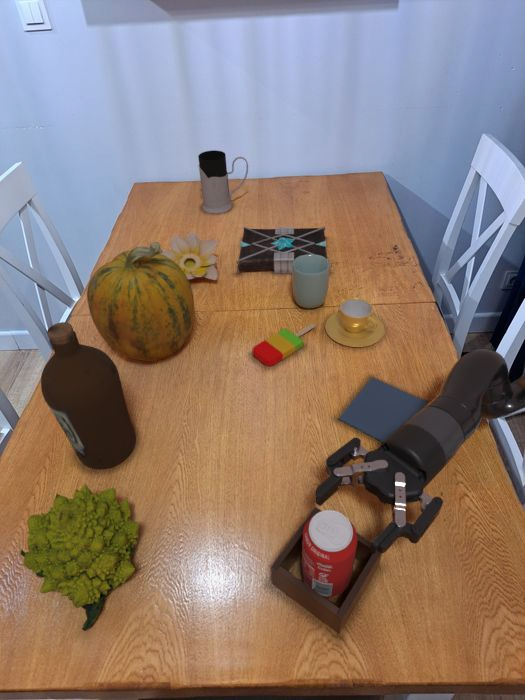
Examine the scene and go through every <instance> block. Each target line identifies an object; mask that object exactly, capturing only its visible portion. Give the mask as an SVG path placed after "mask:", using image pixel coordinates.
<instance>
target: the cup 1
mask: <svg viewBox="0 0 525 700" xmlns="http://www.w3.org/2000/svg"><path fill="white" fill-rule="evenodd" d="M327 259H328V258H327ZM327 259H326V258H325V257H323V256H320V255H315V254H307V255H302V256H299V257H297V258H296V259H295V260H294V261H293V265H292V273H291V286H292V287H291V288H292V294H293V299H294V301H295V303H296V304H297V305H298V306H299V307H301V308H303V309H312V310H313V309H317V308H319V307H321V306H322V305H323V304H324V303H325V301H326V299H327V296H328V292H329V287H330V286H329V284H330V271H331V269H330V268H331V265H330V260H329V259H328V260H329V261H328V260H327Z"/></svg>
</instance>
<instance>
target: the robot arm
mask: <svg viewBox="0 0 525 700" xmlns="http://www.w3.org/2000/svg"><path fill="white" fill-rule="evenodd" d="M428 403H429V404H427V405H426V406H425V407H424V408H423V409H422V410H421V411H419V412H418V413H416V414H415V415H413V416H412V417H411V418H410V419H408V420H407V421H405V422H404V423H403V424H402V425H401V427H400V428H399V429H398V430H397V431H395V432H394V433H393V434H392V435H391V436H390V437H389V438H388V439H387V440H386V441H385V442H384V443H382V442H381V444H380V446H378V447H377V448H375V449H374V450H370V451H369V450H368V449H367V448H366V447H364V446H363V445H362V440H361V439H360V438H359V437H353V438H352V439H350V440H349V441H347V442H346V443H345V444H343V445H342V446H341V447H340V448H338V449H337V450H336V451H334V452H333V453H332V454H330V455H329V456H327V458H326V460H325V463H326V465H325V474H326V475H328V476H327V478H325V480H323V482H321V483H320V484H319V485H318V486H317V487H316V489H315V495H314V503H315V504H316V505H317V506H318V507H321V506H322V505H324V503H326V502H327V501H328V500H329V499H330V498H331V497H332V496H333V495H334V494H336V493H337V492H338V491H339V490H340V489H339V488H340V487H345V486H350V487H354V488H356V487H357V488H358V487H364V489H365V491H367V492H368V493H369V494H372V495H373V496H375V497H376V498H377V499H378V500H379V502H381V503H382V504H383V505H389V506H391V507H390V508H391V509H390V511H391V512H390V513H391V521H390V522H389V523H388V524H387V525H386V526H385V528H384V529H383V530H382V531H381V532H380V533H379V534H378V535H377V536H376V537H375V538H374V539H373V540H372V541H371V542H372V543H371V547H370V551H371V552H372V553H373V554H376V553H377V552H378V551H379V552H380V553H381V554H384V553H386V552H387V551H388V550H389V549H390V547H391V546H392V545H394V544H395V542H396V541H397V540H398V539H399V538H405V539H407V540H408V541H409V542H410V543H411V544H417V543H419V541H421V539H422V538H423V536H424V535H425V534H426V532H427V531H428V530H429V528H430V527H431V526H432V524H433V522H434V521H435V520H436V519H437V517H438V516H439V514H440V512H441V509H442V507H443V504H444V500H443V499H442V498H441V497H440V496H434V497H432V496H430V495H429V494H428V493H426V492H425V491H424V489H425V488H426V487H427V486H428V485H429V484H430V483H431V482H432V481H433V480H434V479H435V478H436V477H437V476H438V474H439V473H441V471H442V470H443V469H445V467H447V465H448V464H449V463H450V462H451V461H452V460H453V458H454V457H455V456H456V455H457V453H458V452H459V450H460V449H461V447H462V446H463V445H464V444H465V442H467V441H468V440H469V438H470V437H471V436H472V435H473V434H474V433H475V432H476V431H477V429H478V428H479V427H480V425H481V422H482V419H483V420H496V419H500V418H504V417H507V416H510V415H512V414H514V413H516V412H518V411H520V410H523V409H525V363H524V365H523V372H522V374H521V376H520V377H518V378H517V379H515V380H513V381H511V378H510V373H509V368H508V364H507V362H506V360H505V358H504V357H503V355H501V354H500V353H499V352H498V351H495V350H493V349H488V348H480V349H475V350H472V351H469V352H468V353H465V354H464V355H463V356H462V357H460V358H458V360H457V361H456V362H455V363H454V365H453V366H452V368H451V369H450V370H449V373H448V374H447V375H446V378H445V380H444V382H443V383H442V385H441V387H440V389H439V392H438V393H437V395H436V396H434V398H433V399H432V400H430V401H429V402H428ZM359 459H362V460H363V462H360V463H353V464H351V465H350V466H345V465H347V464H348V463H349V462H351V461H357V460H359ZM416 502H419V503H420V506H419V511H420V515H419V516H418V517H417V519H416V520H415V521H414V522H413V523H410V522H409V521H407V517H406V516H407V515H406V510H407V509H406V507H407V504H411V503H416Z"/></svg>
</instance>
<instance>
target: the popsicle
mask: <svg viewBox="0 0 525 700" xmlns="http://www.w3.org/2000/svg"><path fill="white" fill-rule="evenodd" d="M316 327H317V325H316V324H315V323H311V324H309V325H308V326H306V327H304V328H303V329H300V330H299V331H298V332H295V333H294V332H292V331H290V330H289V329H288V328H283V329H281V330H279V331H278V332H276V333H274V334H273V335H271V336H269V337H267V338H266V339H264V340H262V341H261V342H259V343H258V344H255V345H254V346H253V348H252V355H253V357H254V358H255V359H256V360H258V361H260V363H262V364H263V365H264V366H266V367H272V366H275V365H277V364H278V363H279V362H281V361H283V360H284V359H285V358H287V357H289V356H291V355H292V354H293V353H295V352H297V351H298V350H300V349H302V348H303V347H304V339H302V338H301V337H302V336H303V335H305V334H307V333H308V332H309V331H311V330H313V329H314V328H316Z"/></svg>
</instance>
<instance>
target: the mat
mask: <svg viewBox="0 0 525 700" xmlns="http://www.w3.org/2000/svg"><path fill="white" fill-rule="evenodd" d="M429 403H430V402H429V401H426V400H424V399H422V398H419V397H418V396H415V395H413V394H411V393H408V392H406V391H404V390H401V389H399V388H398V387H395V386H393V385H391V384H388V383H386V382H384V381H382V380H381V379H378V378H375V377H373V376H371V377H370V379H369V380H368V381H367V383H366V384H365V385H364V386H363V388H361V390H360V391H359V392H358V394H357V395H355V397H354V398H353V400H352V401H351V402H350V403H349V404H348V406H347V407H346V408H345V409H344V411H343V412H342V413H341V414H340V416H339V417H338V421H339V422H342V423H344V424H346V425H348V426H350V427H351V428H354V429H355V430H358V431H360V432H361V433H363V434H365V435H367V436H369V437H371V438H372V439H375V440H377V441H379V442H381V444H382V443H384V442H385V441H386V440H387V439H388V438H389V437H390V436H391V435H392V434H393V433H394V432H395V431H397V430H398V429H399V428H400V427H401V425H402V424H403V423H404V422H405V421H407V420H408V419H410V418H411V417H412V416H413V415H415V414H416V413H418V412H419V411H421V410H422V409H423V408H424V407H425V406H426V405H427V404H429Z"/></svg>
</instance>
